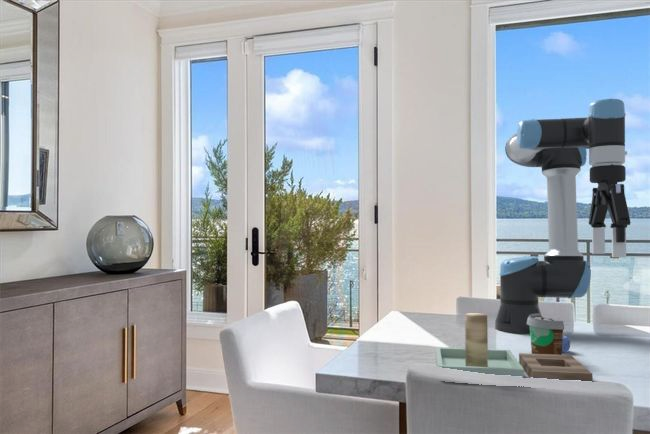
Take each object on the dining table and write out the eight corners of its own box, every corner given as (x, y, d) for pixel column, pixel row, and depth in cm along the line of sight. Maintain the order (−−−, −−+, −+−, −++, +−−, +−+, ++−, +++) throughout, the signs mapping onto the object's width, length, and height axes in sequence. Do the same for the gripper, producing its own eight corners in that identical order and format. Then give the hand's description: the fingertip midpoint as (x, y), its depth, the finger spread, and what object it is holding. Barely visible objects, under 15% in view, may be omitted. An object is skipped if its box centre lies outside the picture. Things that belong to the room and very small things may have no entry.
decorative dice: (548, 350, 143) (548, 335, 143) (556, 348, 145) (556, 334, 146) (562, 353, 140) (562, 338, 140) (570, 351, 142) (570, 336, 142)
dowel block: (519, 363, 130) (519, 353, 130) (571, 365, 128) (571, 355, 128) (533, 382, 114) (532, 371, 114) (592, 385, 112) (592, 373, 112)
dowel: (464, 362, 127) (464, 312, 127) (486, 363, 126) (485, 313, 126) (466, 368, 122) (466, 316, 122) (489, 369, 121) (488, 317, 121)
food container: (518, 350, 144) (518, 313, 144) (540, 349, 144) (540, 312, 144) (541, 362, 131) (540, 321, 131) (564, 361, 132) (564, 321, 132)
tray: (435, 359, 135) (435, 347, 135) (509, 362, 131) (509, 349, 131) (438, 379, 117) (438, 366, 117) (524, 383, 114) (524, 369, 114)
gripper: (646, 159, 112) (648, 259, 112) (605, 170, 137) (606, 252, 137) (608, 159, 114) (610, 258, 113) (574, 171, 138) (575, 252, 138)
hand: (608, 255), depth 125 cm, fingers open, 13 cm apart
